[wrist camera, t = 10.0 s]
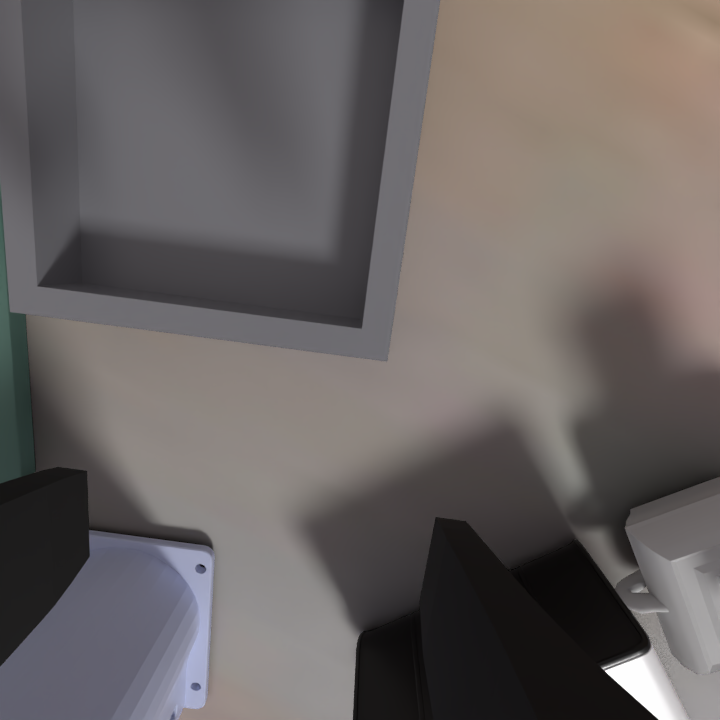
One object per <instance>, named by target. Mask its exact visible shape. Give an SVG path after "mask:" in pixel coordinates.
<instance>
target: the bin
mask: <svg viewBox="0 0 720 720" xmlns="http://www.w3.org/2000/svg"><path fill="white" fill-rule="evenodd" d="M439 5H440V0H0V184H1V198H2V211H3V225H4V238H5V252H6V265H7V279H8V292H9V306H10V312H14V313H22V314H29V315H37V316H44V317H52V318H60V319H67V320H75V321H83V322H90V323H98V324H105V325H113V326H121V327H128V328H136V329H143V330H151V331H159V332H166V333H174V334H182V335H189V336H197V337H204V338H212V339H220V340H227V341H235V342H242V343H250V344H258V345H265V346H273V347H281V348H288V349H296V350H303V351H311V352H319V353H326V354H334V355H341V356H349V357H357V358H364V359H372V360H380V361H387V360H388V353H389V346H390V339H391V333H392V326H393V319H394V312H395V305H396V298H397V292H398V285H399V278H400V271H401V264H402V257H403V251H404V244H405V237H406V230H407V223H408V217H409V210H410V203H411V196H412V189H413V182H414V176H415V169H416V162H417V155H418V148H419V141H420V135H421V128H422V121H423V114H424V107H425V100H426V94H427V87H428V80H429V73H430V66H431V59H432V53H433V46H434V39H435V32H436V25H437V18H438V12H439Z"/></svg>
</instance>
